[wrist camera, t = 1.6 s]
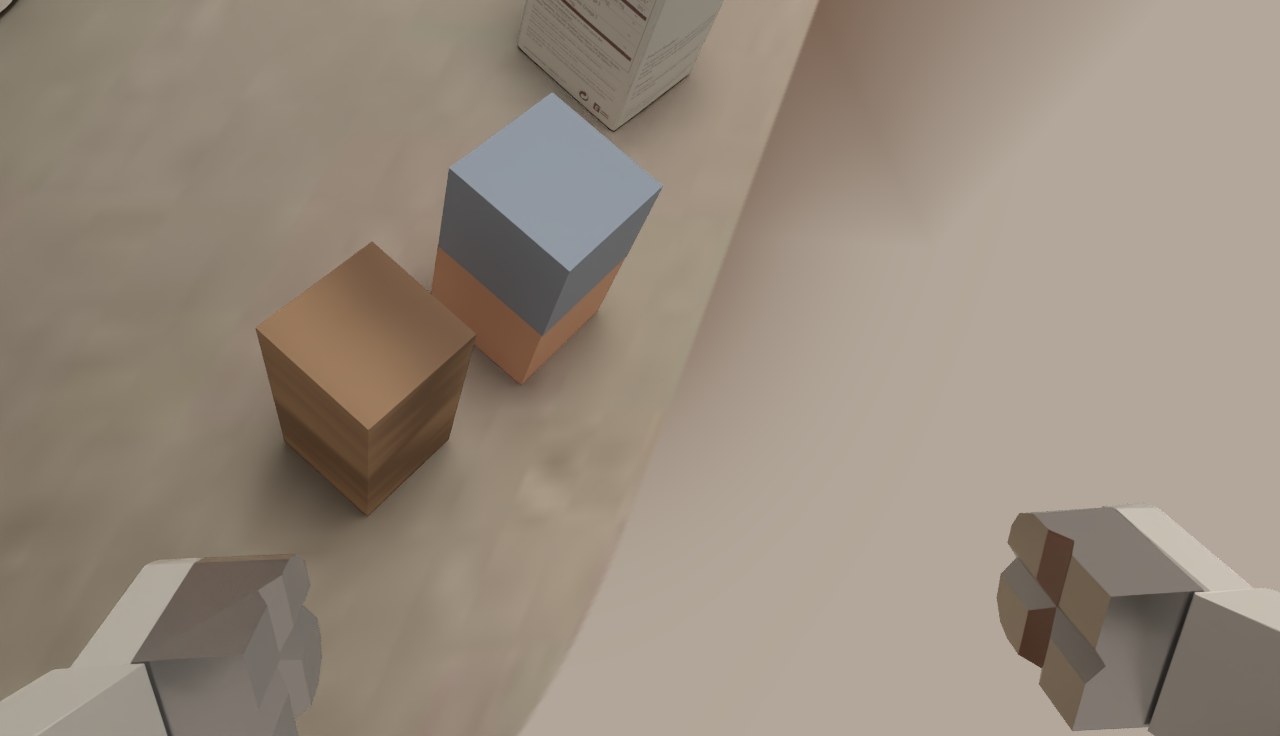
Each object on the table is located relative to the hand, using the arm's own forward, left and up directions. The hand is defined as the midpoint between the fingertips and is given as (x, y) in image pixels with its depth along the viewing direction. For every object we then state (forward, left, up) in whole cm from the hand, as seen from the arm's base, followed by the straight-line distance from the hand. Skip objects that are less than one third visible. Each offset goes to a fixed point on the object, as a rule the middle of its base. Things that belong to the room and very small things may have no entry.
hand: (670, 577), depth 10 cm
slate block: (+4, +16, -20) cm, 26 cm away
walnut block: (-3, +10, -25) cm, 27 cm away
